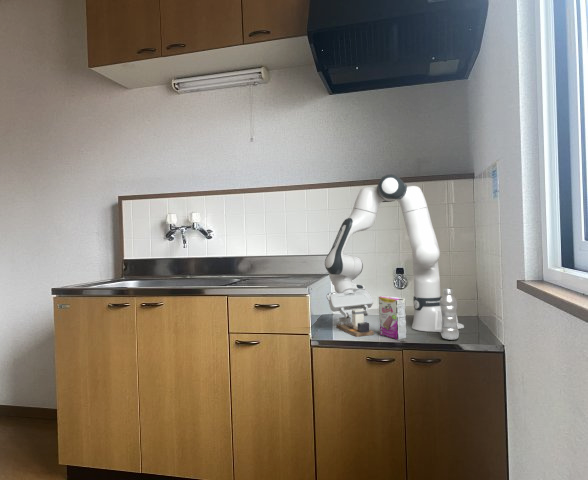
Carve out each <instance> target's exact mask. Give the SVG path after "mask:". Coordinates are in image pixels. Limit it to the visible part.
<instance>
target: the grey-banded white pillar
mask: <svg viewBox="0 0 588 480" xmlns="http://www.w3.org/2000/svg"><path fill="white" fill-rule="evenodd" d="M364 311H365V310H363V309H353V310H351V318H352V319H351V322H352V325H354V329H356V330H358V323H363V322H365V316H364Z"/></svg>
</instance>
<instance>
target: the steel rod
mask: <svg viewBox="0 0 588 480" xmlns="http://www.w3.org/2000/svg"><path fill="white" fill-rule="evenodd" d="M344 325H347V326H349V327H351V328H354V325H352V321H351V322H349V321H344ZM369 330H370V323H369V322H367V321H366V322H365V321H364V322H363V323H358V332H360V333H363V332H369Z"/></svg>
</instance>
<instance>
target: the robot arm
mask: <svg viewBox="0 0 588 480" xmlns="http://www.w3.org/2000/svg"><path fill="white" fill-rule="evenodd" d="M395 201H396V202H398V203H399V205H400V208H401V211H402V217H403V220H404V224H405V229H406V233H407V236H408V239H409V240H408V241H409V243H410V247H411V251H412V252H411V253H412V270H413V271H412V273H413V275H412V276H413V293H414V295H413V300H412V301H413V308H414V311H413V320H412V325H411V329H413V330H415V331H421V332H435V333H441V327H442V314H441V308H440V299H441V298H442V296H441V281H440V280H441V277H440V276H441V275H440V269H439V267H440V266H439V260H440V258H441V250H440V247H439V242H438V240H437V236H436V233H435V229H434V227H433V223H432V219H431V215H430V211H429V208H428V204H427V200H426V198H425V195H424V193H423V191H422V189H421V188H420V186H417V185H407V184H406V183H405V182H404V181H403V180H402V179H401V178H400V177H398V176H397V175H395V174H386V175H384V176H382V177H381V178H380V179H379V180H378V183H377V186H375V187H371V186H364V187H361V189H360V190H359V192H358V194H357V196H356V198H355V201H354V204H353V208H352V211H351V213H350V214H349V216H348V217H347V218H346V219H344V220H343V221H342V224H341V225H340V228H339V230H338V232H337V235H336V236H335V239H334V242H333V244H332V247H331V249H330V250H329V253H327V255H326V256H325V257H326V258H325V260H324V267H325V269H326V271H327V272H328V276H329V279H330V282H331V284H332V285H333V287H334V288H333V289H334V291H335V292H328V293H327V294H326V299H327V301H328V305H329V308H330V311H332V312H335V313H336V312H339V313H340V314H341V315H342V316H343V317H345V318H349V317H350V315H349V312H346V311H352V310H355V309H362V310H363V311H364V317H367V316H369V312H368V309H369V308H372V306H373V304H374V300H373V298H372V296H371V294H370V293H369V292H368V291H367V290H366V286H365V285H363V284H357V283H355V282H353V280H355V279H356V278H358V276H360V274H361V273H362V271H363V269H364V264H363V260H362V259H361V258H360V257H359V256H355V255H352V254H351V255H350V254H345V253H344V252H345V249H346V246H347V244H348V242H349V240H350V238H351V236H353V235H354V234H356V233H360V232H364V231H367V230H369V229H371V228H372V227H373V226H374V224H375V222H376V219H377V214H378V211H379V208H380V206H381V204H382V203H389V202H390V203H391V202H395ZM456 320H457V328H458V330H459V329H464V328H465V325H464V324H462V323H459V320H458V315H457V314H456Z"/></svg>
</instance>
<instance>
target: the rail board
mask: <svg viewBox="0 0 588 480" xmlns="http://www.w3.org/2000/svg"><path fill="white" fill-rule="evenodd" d="M344 321H349V322H352V320H351V317H350V316H349V318H345V317H344V316H342V317H339V318H338V324H336V329H338V330H339V331H340V330H341V331H342V332H346V334H349V335H352V336H353V337H357V338H359V337H365V336H367V337H368V336H373V335H375V334H374V332H375V331H374V330H371V329H369V332H363V333H360V332H358V330H356V329H354V328H351V327H349V326H347V325H344Z"/></svg>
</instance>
